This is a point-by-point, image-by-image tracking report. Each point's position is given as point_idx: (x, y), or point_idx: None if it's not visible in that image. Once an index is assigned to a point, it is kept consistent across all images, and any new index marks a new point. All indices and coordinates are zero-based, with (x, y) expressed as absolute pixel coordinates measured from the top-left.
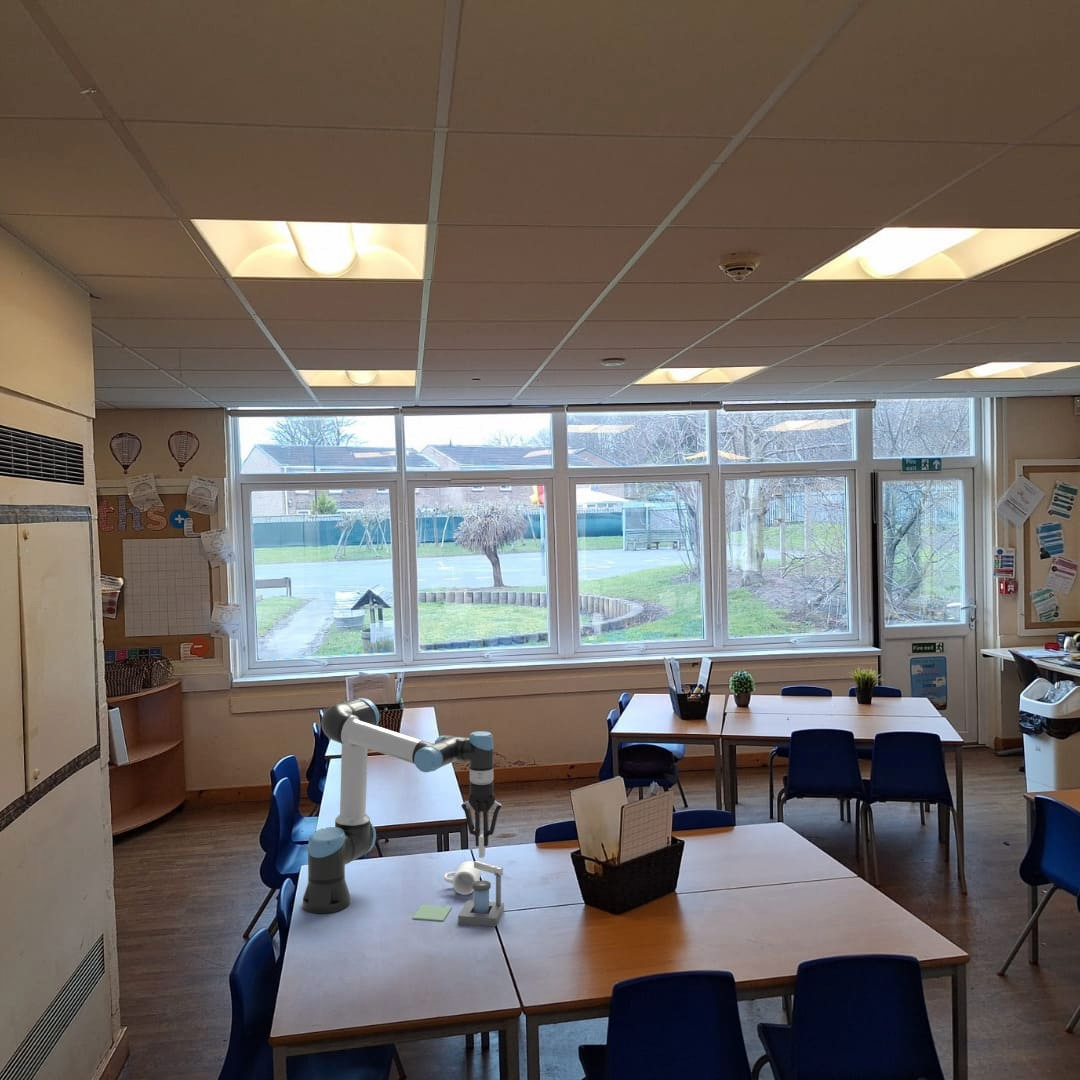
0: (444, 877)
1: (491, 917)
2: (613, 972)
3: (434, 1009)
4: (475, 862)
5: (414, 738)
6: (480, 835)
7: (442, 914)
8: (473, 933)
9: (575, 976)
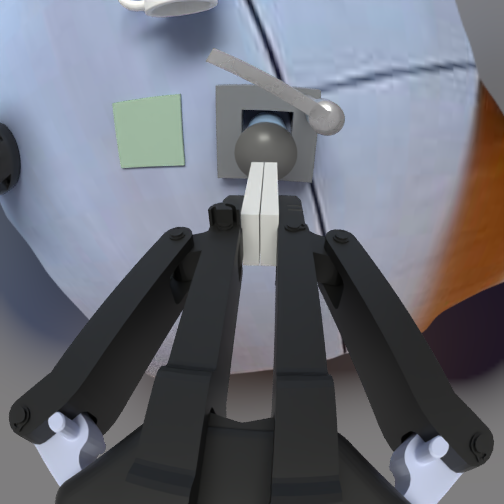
0: (119, 1)
1: (300, 178)
2: (453, 295)
3: (258, 364)
4: (214, 64)
5: None
6: (247, 237)
7: (172, 139)
8: None
9: (413, 308)
